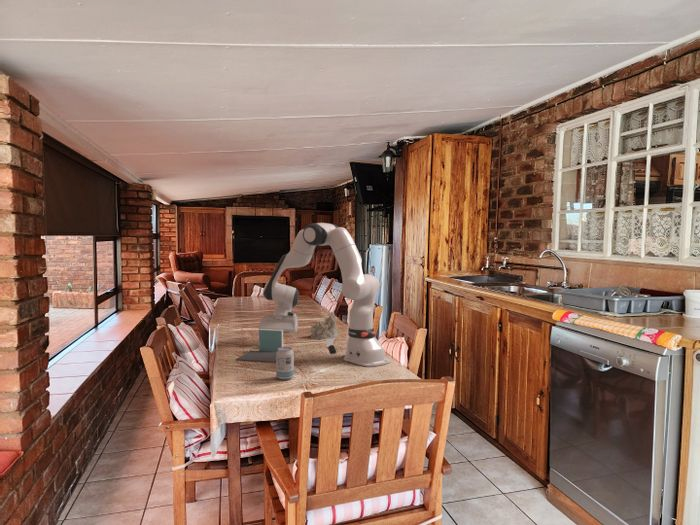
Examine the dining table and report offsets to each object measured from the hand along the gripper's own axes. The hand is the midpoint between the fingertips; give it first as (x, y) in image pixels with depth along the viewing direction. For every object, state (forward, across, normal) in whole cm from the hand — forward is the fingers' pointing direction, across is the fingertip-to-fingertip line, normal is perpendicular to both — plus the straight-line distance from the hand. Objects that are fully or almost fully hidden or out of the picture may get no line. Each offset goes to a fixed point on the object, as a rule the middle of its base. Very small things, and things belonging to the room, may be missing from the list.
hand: (274, 339), depth 223 cm
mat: (+14, 0, -7) cm, 16 cm away
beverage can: (+34, +20, -27) cm, 48 cm away
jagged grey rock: (-20, +18, +27) cm, 38 cm away
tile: (+7, 0, 0) cm, 7 cm away
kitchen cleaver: (-4, +25, +12) cm, 28 cm away
